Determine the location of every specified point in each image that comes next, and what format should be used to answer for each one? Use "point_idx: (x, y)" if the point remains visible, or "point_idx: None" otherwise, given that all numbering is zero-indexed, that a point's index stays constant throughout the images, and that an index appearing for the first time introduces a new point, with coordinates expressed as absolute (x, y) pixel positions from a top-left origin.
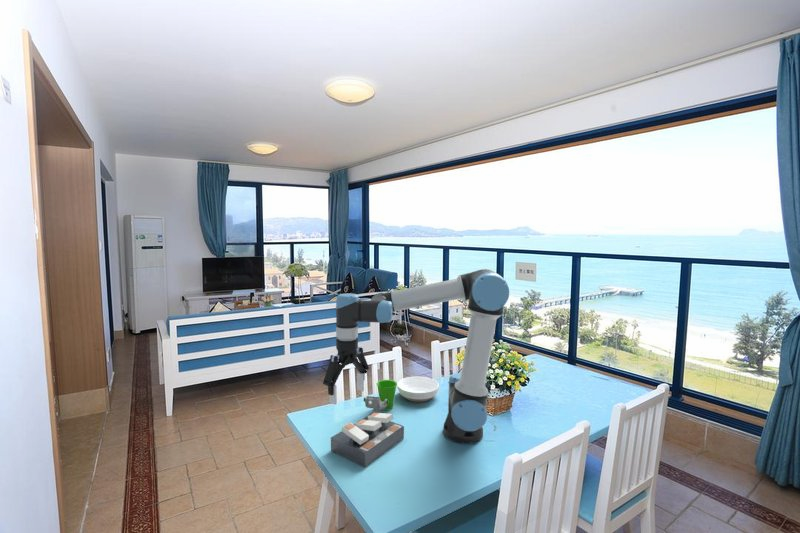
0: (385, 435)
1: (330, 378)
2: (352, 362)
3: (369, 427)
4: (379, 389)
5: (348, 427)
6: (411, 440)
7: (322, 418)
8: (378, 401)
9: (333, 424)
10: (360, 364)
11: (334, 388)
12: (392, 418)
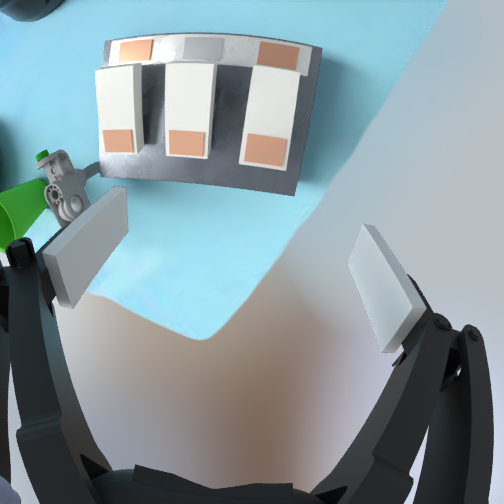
0: (191, 40)
1: (484, 371)
2: (88, 433)
3: (213, 86)
4: (20, 229)
5: (274, 148)
6: (122, 26)
7: (173, 290)
8: (57, 180)
9: (176, 254)
10: (14, 348)
11: (416, 296)
12: (107, 67)
